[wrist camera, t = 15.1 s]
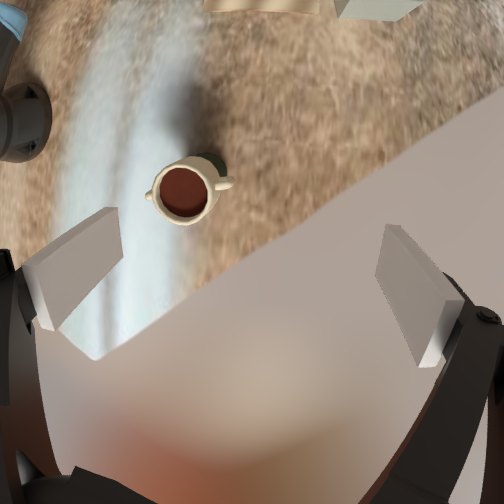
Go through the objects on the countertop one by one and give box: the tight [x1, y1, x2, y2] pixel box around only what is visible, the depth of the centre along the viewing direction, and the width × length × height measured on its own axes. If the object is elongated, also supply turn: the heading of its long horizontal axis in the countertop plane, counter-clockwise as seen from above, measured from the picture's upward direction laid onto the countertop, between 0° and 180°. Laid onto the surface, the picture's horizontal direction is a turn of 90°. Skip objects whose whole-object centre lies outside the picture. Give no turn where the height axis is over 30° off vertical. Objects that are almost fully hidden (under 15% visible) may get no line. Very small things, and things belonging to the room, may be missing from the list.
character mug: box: [145, 153, 235, 225], centre depth 39 cm, size 11×7×13 cm, turn 98°
